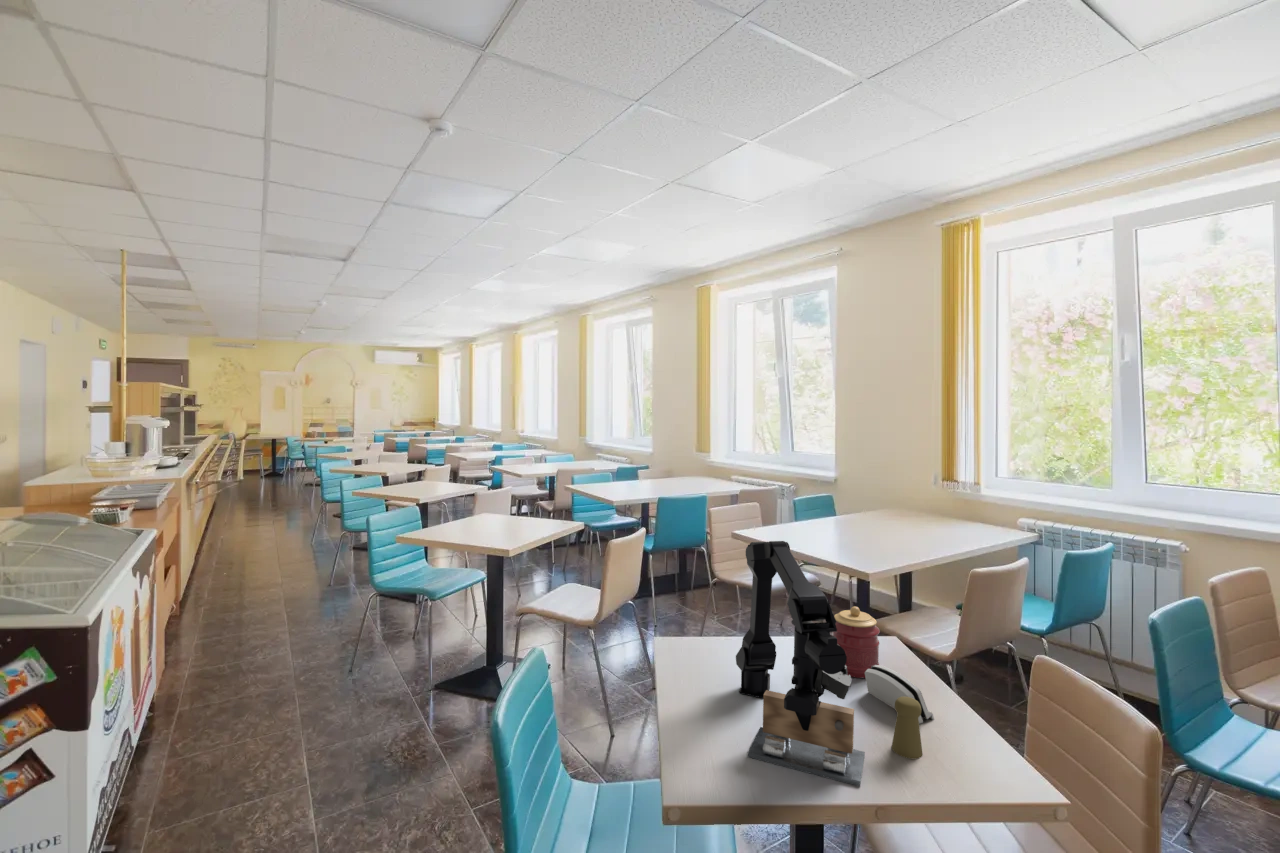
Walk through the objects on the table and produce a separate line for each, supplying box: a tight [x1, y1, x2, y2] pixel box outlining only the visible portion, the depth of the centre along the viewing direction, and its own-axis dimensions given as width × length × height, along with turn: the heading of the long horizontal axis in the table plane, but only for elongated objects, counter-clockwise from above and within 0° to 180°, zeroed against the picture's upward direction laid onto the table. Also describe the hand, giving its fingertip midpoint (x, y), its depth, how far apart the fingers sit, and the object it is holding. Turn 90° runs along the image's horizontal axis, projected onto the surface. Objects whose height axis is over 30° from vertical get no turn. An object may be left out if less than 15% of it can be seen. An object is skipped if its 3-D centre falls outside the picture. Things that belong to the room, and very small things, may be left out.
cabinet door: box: [762, 690, 855, 754], centre depth 122 cm, size 18×4×8 cm, turn 65°
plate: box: [747, 726, 866, 787], centre depth 122 cm, size 22×11×4 cm, turn 65°
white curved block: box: [864, 664, 935, 725], centre depth 144 cm, size 17×5×10 cm, turn 21°
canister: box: [830, 606, 881, 679], centre depth 165 cm, size 13×13×18 cm
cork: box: [891, 696, 924, 760], centre depth 125 cm, size 6×6×11 cm
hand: (806, 727), depth 122 cm, fingers closed on cabinet door, 2 cm apart
